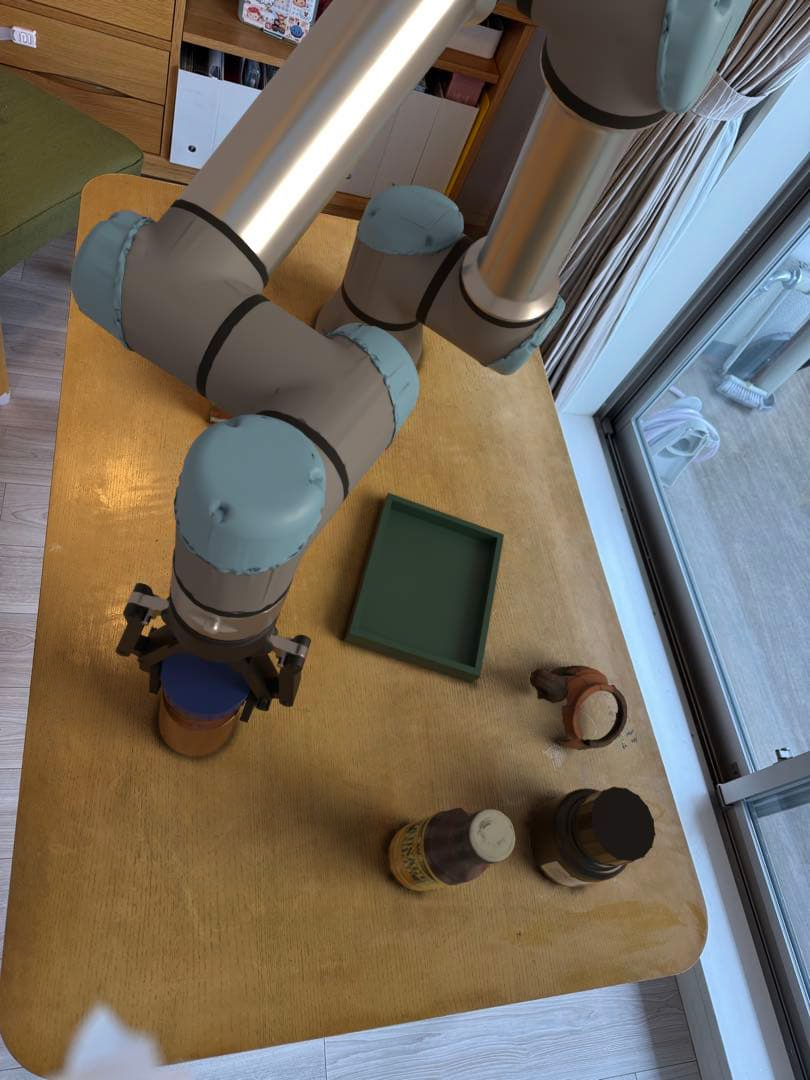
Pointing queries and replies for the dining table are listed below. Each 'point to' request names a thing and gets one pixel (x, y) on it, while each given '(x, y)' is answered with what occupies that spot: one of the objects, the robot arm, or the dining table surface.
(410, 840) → the sauce bottle
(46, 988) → the dining table surface
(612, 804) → the ink bottle
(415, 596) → the tray
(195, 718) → the lid
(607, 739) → the pottery mug
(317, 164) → the robot arm
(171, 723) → the jar
